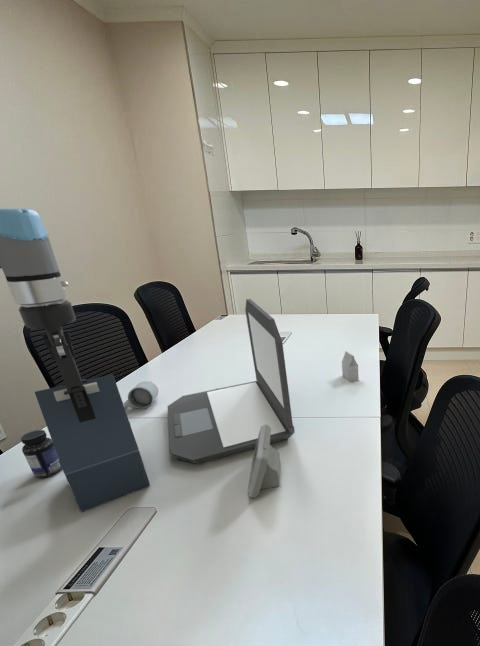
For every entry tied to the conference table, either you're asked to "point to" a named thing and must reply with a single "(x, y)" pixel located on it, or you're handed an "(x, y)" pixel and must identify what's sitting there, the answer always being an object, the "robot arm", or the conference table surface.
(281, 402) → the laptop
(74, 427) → the lid
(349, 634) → the conference table surface
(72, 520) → the conference table surface
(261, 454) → the digital clock
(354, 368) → the grey house-shaped block
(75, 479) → the dark blue box
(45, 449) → the pill bottle
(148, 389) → the ceramic mug
